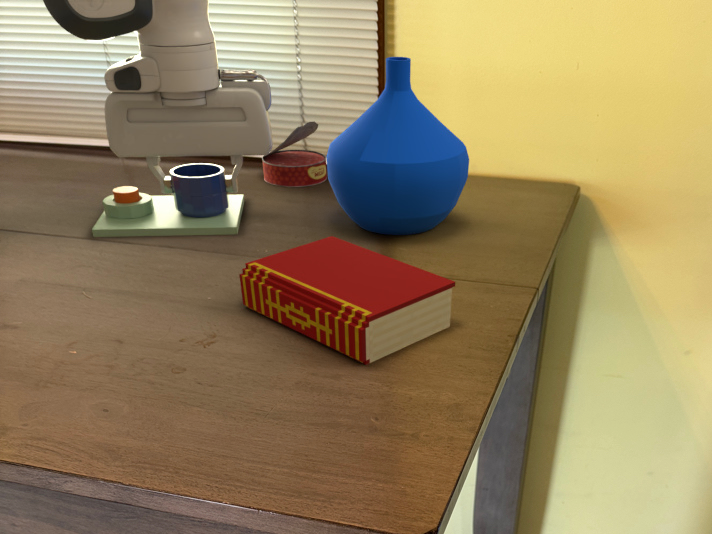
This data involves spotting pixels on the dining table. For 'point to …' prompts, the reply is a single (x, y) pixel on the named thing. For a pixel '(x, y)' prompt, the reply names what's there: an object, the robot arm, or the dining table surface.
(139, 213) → the scale
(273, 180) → the canned food
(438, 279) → the book
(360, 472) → the dining table surface
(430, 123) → the vase
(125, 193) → the button
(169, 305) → the dining table surface
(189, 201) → the cup
